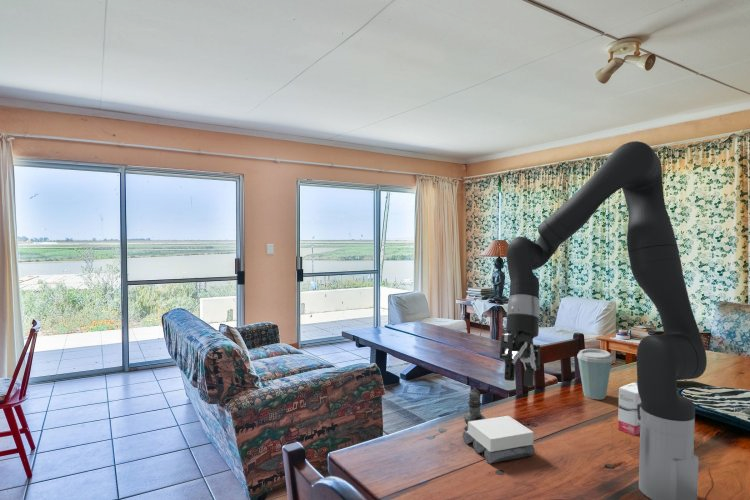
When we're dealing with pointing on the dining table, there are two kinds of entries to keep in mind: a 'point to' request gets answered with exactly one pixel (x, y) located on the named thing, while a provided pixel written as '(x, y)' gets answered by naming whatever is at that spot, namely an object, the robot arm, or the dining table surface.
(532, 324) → the robot arm
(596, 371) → the disposable coffee cup
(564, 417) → the dining table surface
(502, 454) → the roller track
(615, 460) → the dining table surface
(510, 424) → the slab
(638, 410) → the ink box
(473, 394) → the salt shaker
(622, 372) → the dining table surface
